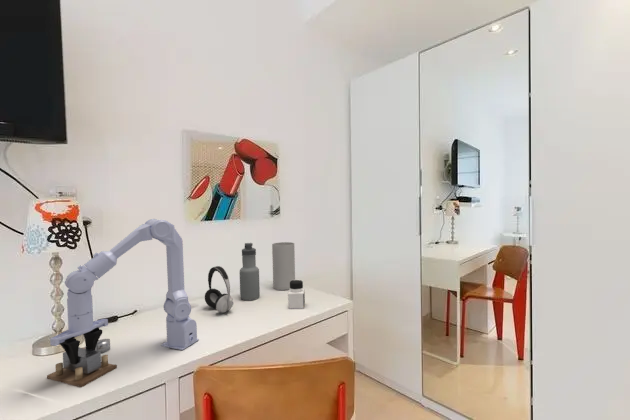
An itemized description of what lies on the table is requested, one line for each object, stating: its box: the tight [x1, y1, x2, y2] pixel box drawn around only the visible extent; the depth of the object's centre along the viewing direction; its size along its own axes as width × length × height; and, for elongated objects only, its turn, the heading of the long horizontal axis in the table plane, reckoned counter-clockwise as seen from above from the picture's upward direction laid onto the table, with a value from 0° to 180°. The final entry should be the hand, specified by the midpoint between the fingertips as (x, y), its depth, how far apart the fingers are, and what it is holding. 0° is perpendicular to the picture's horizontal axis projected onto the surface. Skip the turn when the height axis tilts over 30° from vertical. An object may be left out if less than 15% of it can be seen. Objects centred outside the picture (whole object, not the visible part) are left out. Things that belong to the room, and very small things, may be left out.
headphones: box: [204, 265, 234, 314], centre depth 140 cm, size 19×8×20 cm, turn 44°
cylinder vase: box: [271, 241, 296, 291], centre depth 175 cm, size 12×12×25 cm
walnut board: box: [46, 354, 118, 388], centre depth 89 cm, size 14×10×4 cm
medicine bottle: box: [287, 279, 306, 310], centre depth 143 cm, size 7×7×12 cm
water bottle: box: [239, 242, 261, 301], centre depth 157 cm, size 10×10×28 cm
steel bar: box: [62, 346, 102, 374], centre depth 89 cm, size 10×4×4 cm, turn 71°
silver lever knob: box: [82, 338, 111, 354], centre depth 100 cm, size 4×9×4 cm, turn 161°
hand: (82, 359), depth 89 cm, fingers open, 4 cm apart
